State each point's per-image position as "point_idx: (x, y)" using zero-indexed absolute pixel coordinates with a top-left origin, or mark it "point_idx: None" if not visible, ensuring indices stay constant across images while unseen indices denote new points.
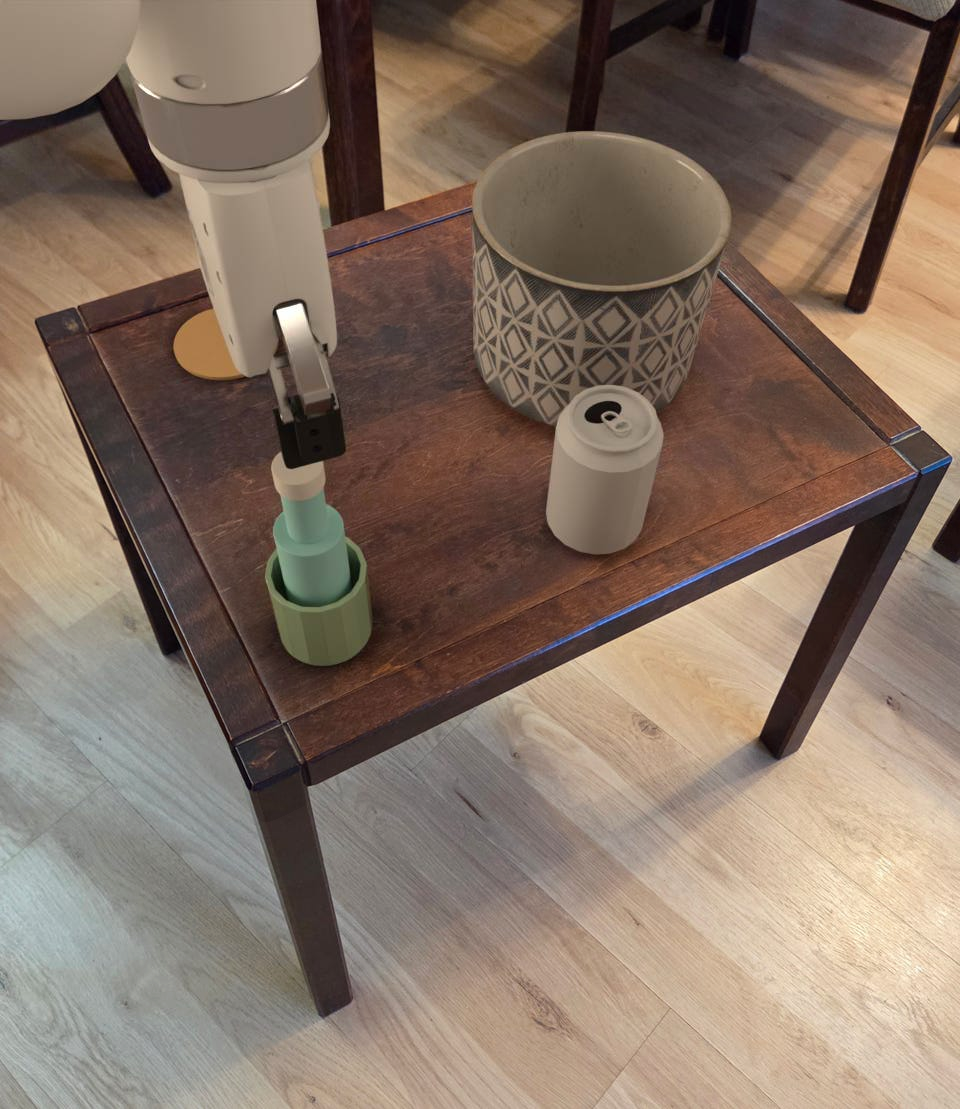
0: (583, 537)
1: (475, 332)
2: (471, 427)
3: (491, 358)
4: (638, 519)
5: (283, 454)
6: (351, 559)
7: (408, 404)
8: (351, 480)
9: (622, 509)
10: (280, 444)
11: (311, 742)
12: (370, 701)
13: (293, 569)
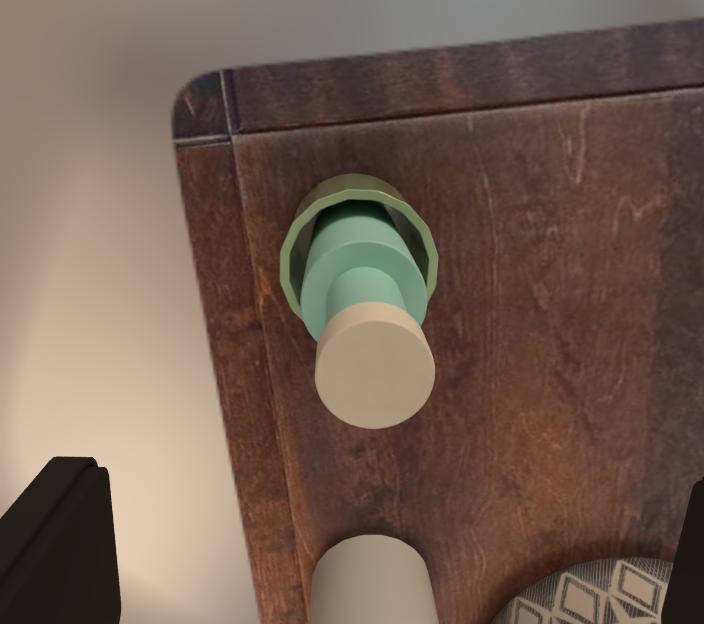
0: (326, 572)
1: None
2: (572, 506)
3: (633, 604)
4: None
5: (18, 498)
6: None
7: (651, 452)
8: (567, 343)
9: None
10: (6, 527)
11: (191, 163)
12: (224, 253)
13: (322, 245)
